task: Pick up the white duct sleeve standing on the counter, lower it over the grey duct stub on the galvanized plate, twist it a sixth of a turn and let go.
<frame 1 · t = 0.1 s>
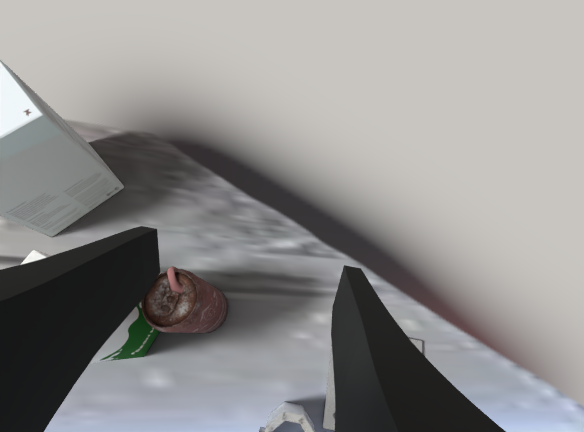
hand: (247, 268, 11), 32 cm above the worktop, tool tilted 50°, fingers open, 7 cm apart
supplement box 2: (72, 187, 48), on the worktop
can: (207, 309, 41), on the worktop
duct sleeve: (289, 429, 35), on the worktop
duct plate: (374, 381, 37), on the worktop
milk carton: (139, 319, 40), on the worktop
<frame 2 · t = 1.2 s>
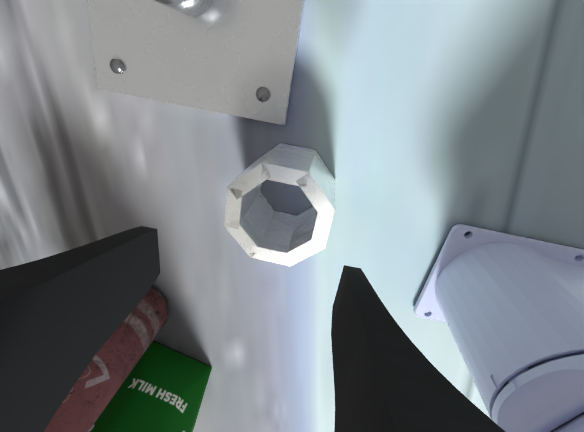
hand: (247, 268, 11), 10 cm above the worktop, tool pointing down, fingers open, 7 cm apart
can: (139, 300, 26), on the worktop
duct sleeve: (290, 187, 20), on the worktop
milk carton: (172, 370, 30), on the worktop
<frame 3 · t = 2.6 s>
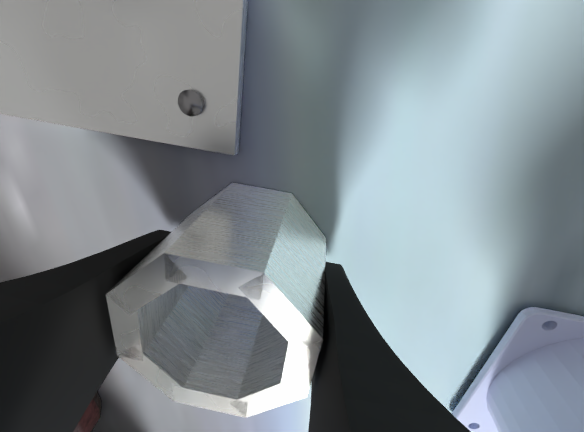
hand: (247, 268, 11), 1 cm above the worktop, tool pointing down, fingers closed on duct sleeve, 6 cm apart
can: (62, 388, 19), on the worktop
duct sleeve: (255, 249, 12), on the worktop, touching gripper
when the fingers open (2 cm above the worktop, at t = 6.6 s): duct sleeve stays where it is, resting on duct plate.
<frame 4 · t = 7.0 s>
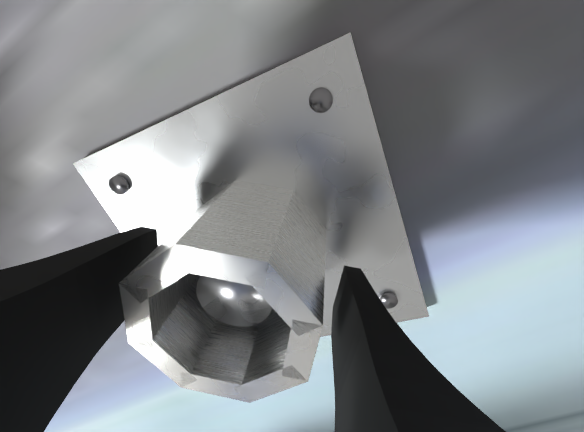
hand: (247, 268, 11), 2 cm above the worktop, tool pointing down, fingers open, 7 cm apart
duct sleeve: (258, 244, 13), resting on duct plate
duct plate: (261, 237, 13), on the worktop
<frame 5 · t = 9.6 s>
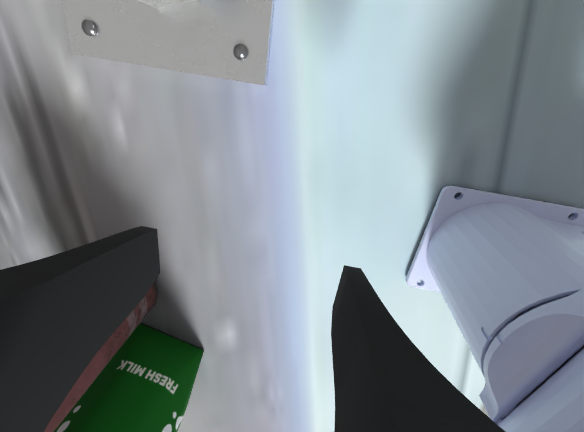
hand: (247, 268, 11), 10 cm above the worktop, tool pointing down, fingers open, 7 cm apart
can: (127, 281, 26), on the worktop
milk carton: (164, 355, 30), on the worktop
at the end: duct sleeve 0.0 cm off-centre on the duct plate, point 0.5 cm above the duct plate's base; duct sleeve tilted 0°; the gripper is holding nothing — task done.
